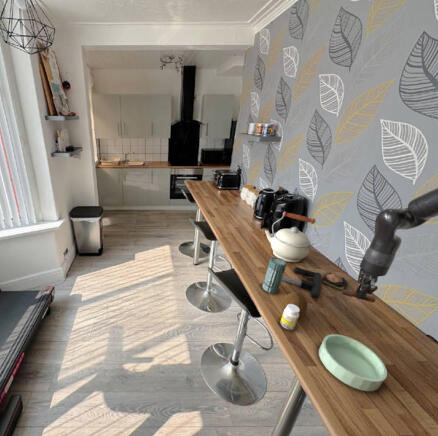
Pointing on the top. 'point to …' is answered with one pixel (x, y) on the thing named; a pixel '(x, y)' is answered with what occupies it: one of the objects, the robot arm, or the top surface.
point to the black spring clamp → (307, 285)
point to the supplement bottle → (290, 316)
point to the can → (274, 275)
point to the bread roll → (335, 281)
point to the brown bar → (354, 294)
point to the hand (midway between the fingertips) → (359, 296)
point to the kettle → (291, 240)
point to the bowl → (352, 362)
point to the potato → (296, 302)
